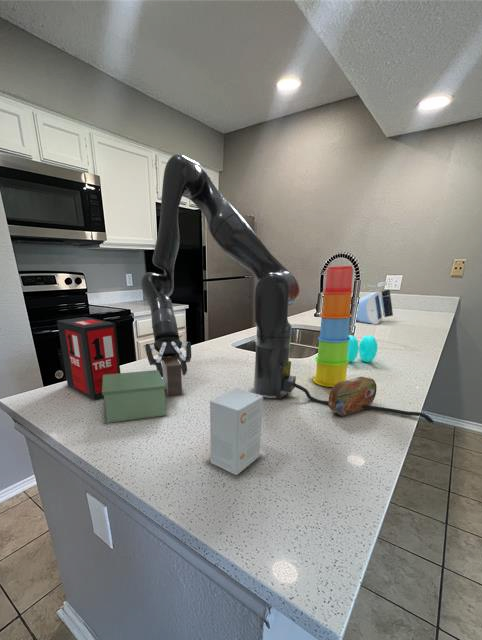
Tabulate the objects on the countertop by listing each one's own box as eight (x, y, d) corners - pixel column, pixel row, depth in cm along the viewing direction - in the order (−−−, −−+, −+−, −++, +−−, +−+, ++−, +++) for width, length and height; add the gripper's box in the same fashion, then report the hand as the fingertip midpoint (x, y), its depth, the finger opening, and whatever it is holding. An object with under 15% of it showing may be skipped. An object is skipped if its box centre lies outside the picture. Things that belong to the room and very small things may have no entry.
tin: (333, 418, 78) (338, 386, 75) (323, 413, 81) (328, 382, 78) (374, 406, 84) (380, 376, 81) (364, 402, 87) (369, 373, 84)
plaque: (163, 384, 100) (161, 356, 97) (176, 382, 101) (175, 355, 98) (168, 396, 91) (166, 366, 88) (182, 394, 92) (181, 364, 89)
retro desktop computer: (388, 279, 199) (391, 280, 185) (393, 316, 205) (396, 320, 190) (344, 290, 210) (344, 292, 196) (350, 325, 216) (350, 329, 201)
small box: (234, 445, 67) (235, 387, 62) (260, 456, 63) (264, 395, 58) (209, 463, 61) (209, 400, 56) (236, 476, 57) (238, 410, 52)
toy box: (160, 396, 91) (158, 369, 88) (167, 415, 80) (165, 385, 77) (106, 402, 87) (102, 374, 84) (105, 423, 76) (101, 392, 73)
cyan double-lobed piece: (375, 365, 118) (381, 338, 114) (348, 365, 118) (352, 338, 115) (363, 357, 127) (368, 332, 124) (338, 357, 127) (342, 332, 124)
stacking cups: (329, 390, 95) (346, 266, 83) (306, 379, 104) (319, 265, 92) (354, 385, 99) (375, 265, 87) (330, 375, 108) (345, 265, 96)
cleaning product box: (67, 385, 99) (56, 320, 92) (94, 378, 105) (85, 316, 98) (94, 400, 89) (84, 328, 82) (122, 391, 95) (115, 323, 88)
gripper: (141, 320, 94) (148, 371, 88) (189, 318, 98) (199, 367, 91) (141, 334, 101) (147, 383, 94) (185, 332, 104) (195, 378, 98)
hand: (173, 374), depth 93 cm, fingers open, 6 cm apart
